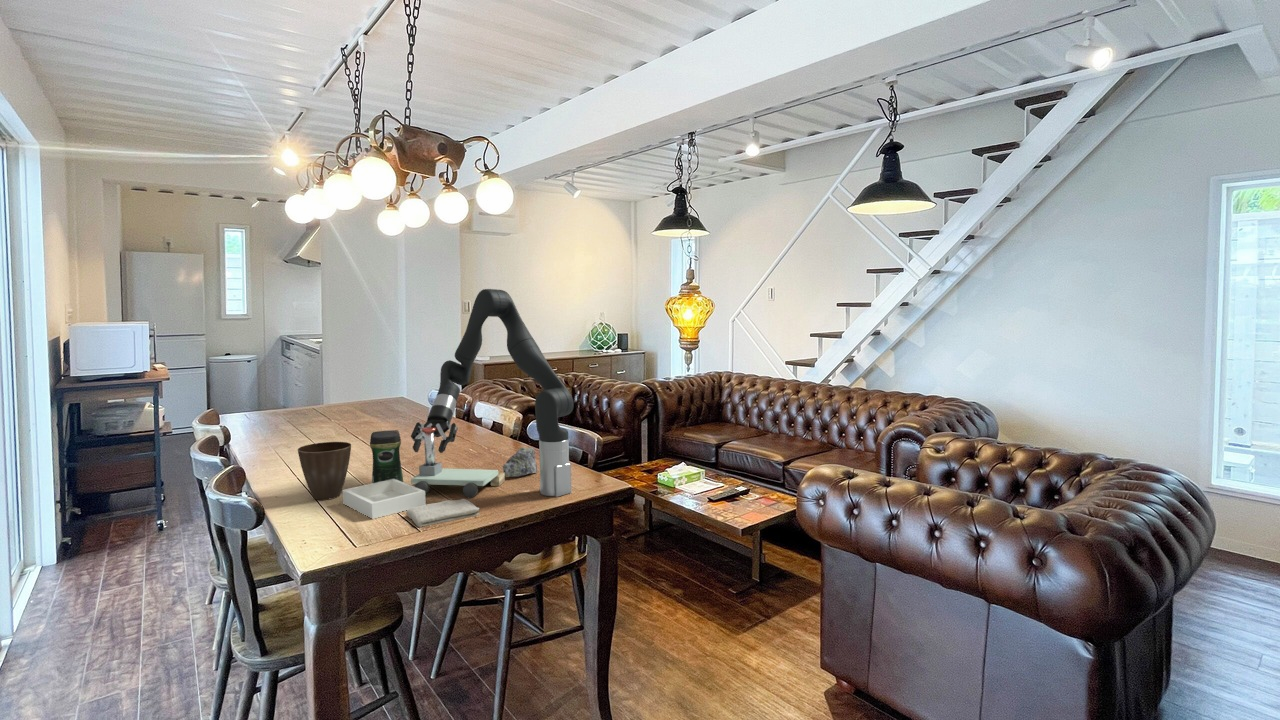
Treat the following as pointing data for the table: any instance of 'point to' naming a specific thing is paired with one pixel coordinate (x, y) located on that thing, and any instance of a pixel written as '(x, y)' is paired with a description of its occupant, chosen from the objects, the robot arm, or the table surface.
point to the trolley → (453, 478)
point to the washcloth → (442, 512)
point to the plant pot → (325, 467)
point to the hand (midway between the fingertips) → (427, 451)
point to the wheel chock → (498, 479)
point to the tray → (383, 498)
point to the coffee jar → (386, 456)
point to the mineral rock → (521, 463)
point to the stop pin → (429, 445)
